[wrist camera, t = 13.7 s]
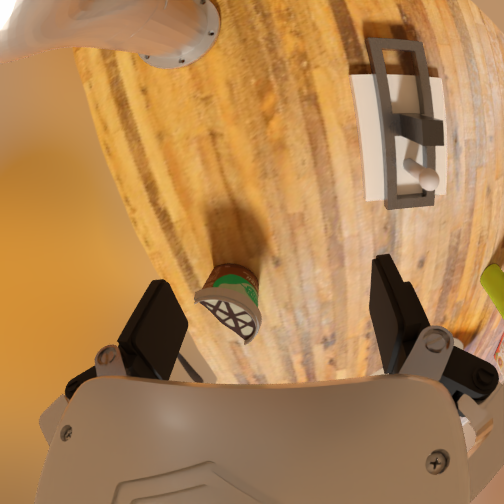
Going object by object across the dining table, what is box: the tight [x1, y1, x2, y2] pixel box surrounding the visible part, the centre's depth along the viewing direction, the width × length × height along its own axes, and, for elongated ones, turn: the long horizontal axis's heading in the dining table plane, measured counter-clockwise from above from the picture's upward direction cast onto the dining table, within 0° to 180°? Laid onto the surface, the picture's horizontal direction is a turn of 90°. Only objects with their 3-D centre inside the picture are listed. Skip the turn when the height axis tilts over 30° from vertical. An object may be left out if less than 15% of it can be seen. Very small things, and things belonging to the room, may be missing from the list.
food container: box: [194, 264, 262, 345], centre depth 44 cm, size 12×6×10 cm, turn 40°
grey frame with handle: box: [365, 38, 444, 210], centre depth 26 cm, size 24×8×8 cm, turn 12°
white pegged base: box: [349, 74, 447, 202], centre depth 27 cm, size 18×14×9 cm
